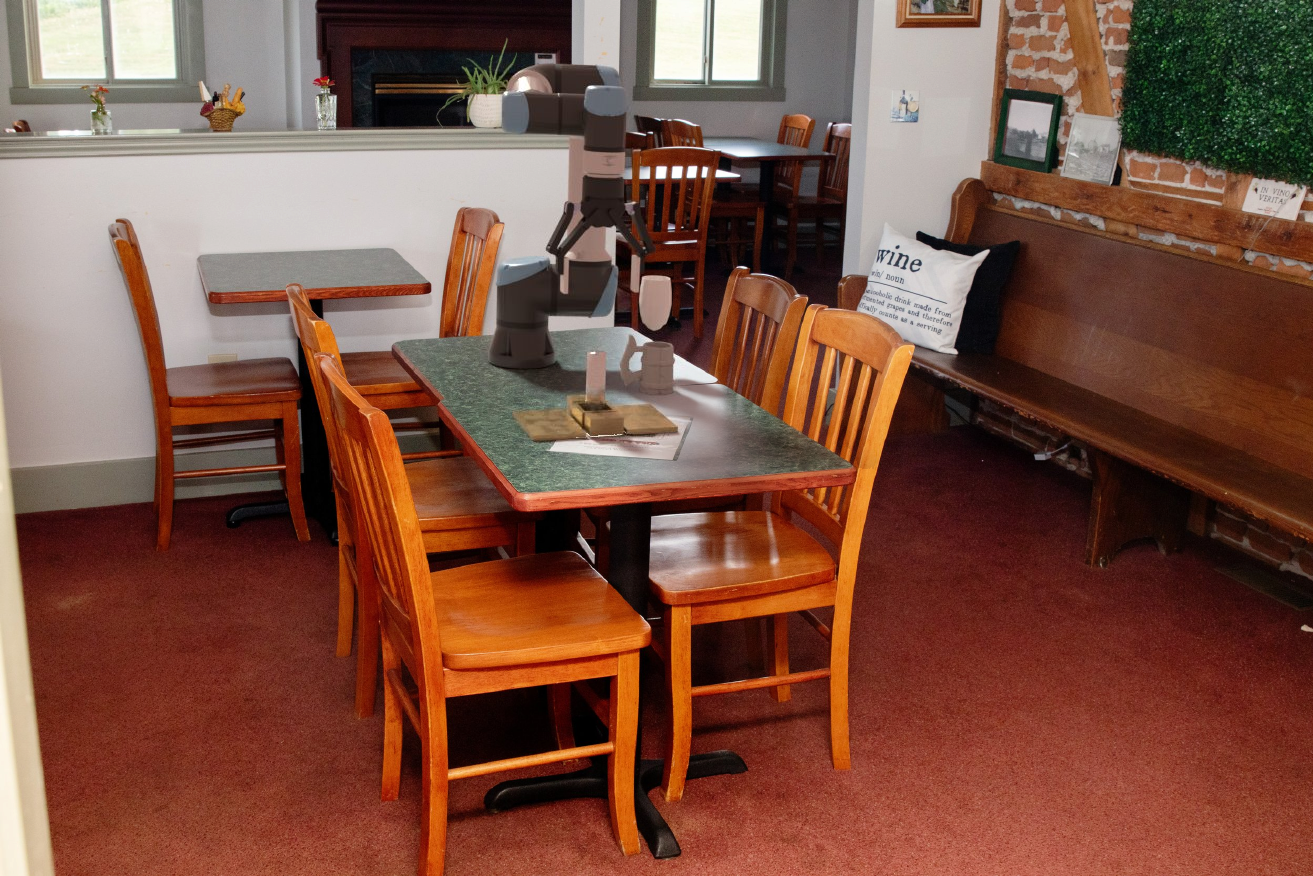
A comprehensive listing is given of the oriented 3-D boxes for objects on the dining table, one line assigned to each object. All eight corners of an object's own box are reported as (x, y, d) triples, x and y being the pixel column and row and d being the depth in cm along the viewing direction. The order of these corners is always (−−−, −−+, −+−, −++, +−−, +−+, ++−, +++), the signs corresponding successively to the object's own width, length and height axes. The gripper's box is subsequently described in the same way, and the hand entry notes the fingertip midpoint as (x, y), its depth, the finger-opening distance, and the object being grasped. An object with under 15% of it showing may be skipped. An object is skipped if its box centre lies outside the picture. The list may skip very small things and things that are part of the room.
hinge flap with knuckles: (566, 412, 241) (567, 395, 240) (650, 408, 246) (650, 391, 245) (590, 436, 226) (590, 418, 225) (677, 431, 232) (678, 413, 231)
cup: (670, 367, 281) (675, 276, 275) (665, 374, 274) (669, 281, 268) (639, 364, 282) (643, 274, 276) (633, 371, 275) (637, 279, 269)
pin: (582, 422, 235) (584, 350, 231) (600, 421, 237) (603, 349, 233) (588, 427, 232) (590, 355, 228) (606, 426, 233) (608, 354, 229)
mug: (678, 395, 258) (681, 338, 254) (622, 395, 255) (624, 338, 252) (670, 385, 265) (672, 330, 262) (615, 386, 262) (617, 330, 259)
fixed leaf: (512, 416, 237) (513, 398, 236) (599, 412, 243) (600, 394, 242) (532, 441, 223) (533, 422, 222) (624, 435, 228) (625, 417, 227)
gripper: (540, 176, 215) (538, 297, 222) (675, 178, 223) (669, 294, 230) (530, 171, 222) (528, 288, 228) (662, 173, 230) (656, 286, 236)
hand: (599, 291), depth 229 cm, fingers open, 13 cm apart
